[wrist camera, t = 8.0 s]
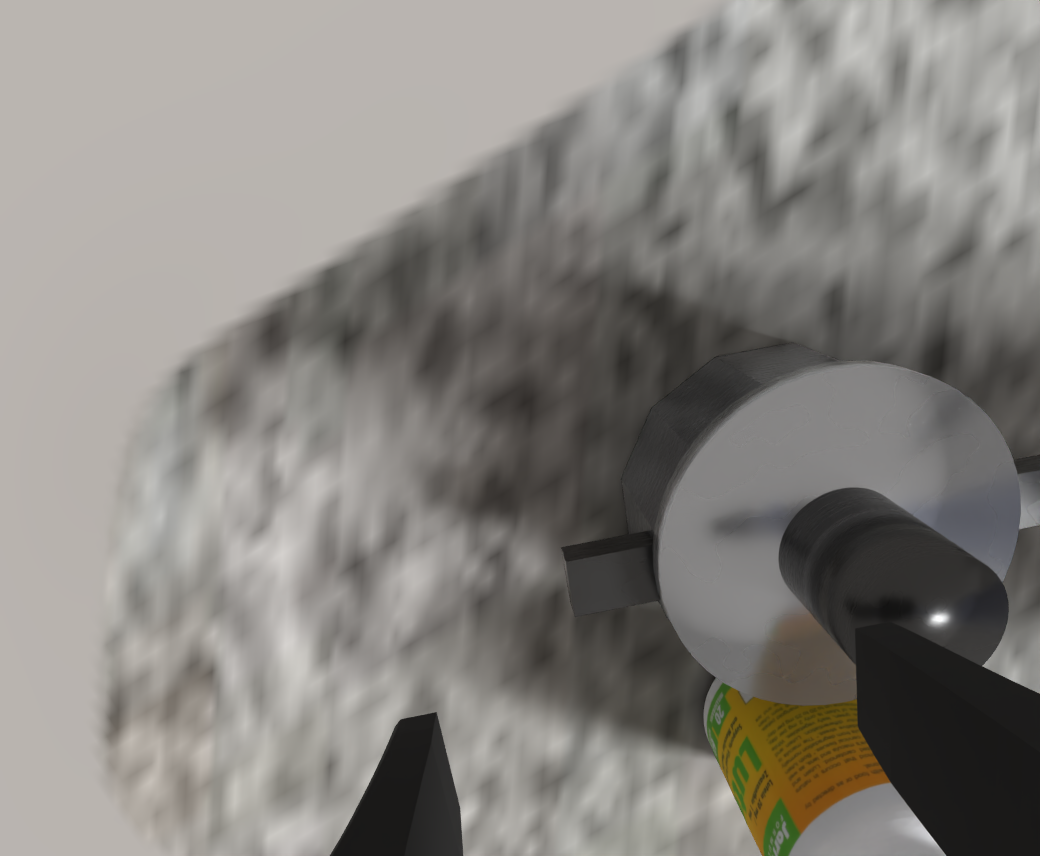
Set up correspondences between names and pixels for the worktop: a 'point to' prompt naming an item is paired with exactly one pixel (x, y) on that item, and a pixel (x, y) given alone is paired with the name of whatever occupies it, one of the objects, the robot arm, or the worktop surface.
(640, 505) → the pot
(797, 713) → the supplement bottle
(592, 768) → the worktop surface
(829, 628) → the lid
